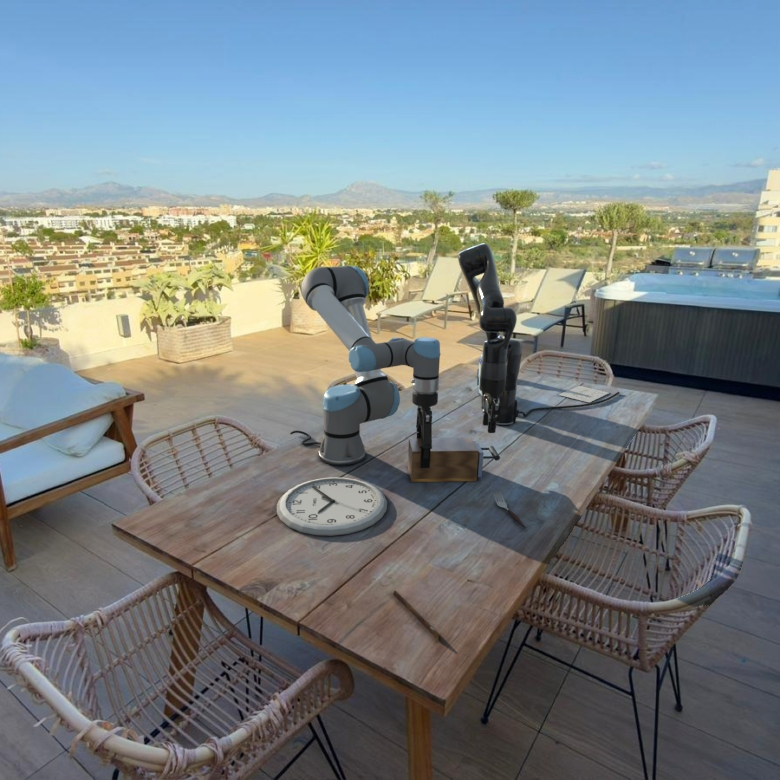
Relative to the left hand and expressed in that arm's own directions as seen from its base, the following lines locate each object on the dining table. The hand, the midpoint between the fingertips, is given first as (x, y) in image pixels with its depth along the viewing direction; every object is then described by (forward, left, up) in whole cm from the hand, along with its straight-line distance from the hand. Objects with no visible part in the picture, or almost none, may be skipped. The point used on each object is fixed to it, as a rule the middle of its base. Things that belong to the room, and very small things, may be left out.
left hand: (422, 459), depth 160 cm
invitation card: (+46, +107, -5) cm, 117 cm away
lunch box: (+7, +83, -5) cm, 83 cm away
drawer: (+10, +5, -4) cm, 12 cm away
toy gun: (-3, +121, -5) cm, 121 cm away
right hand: (+18, +8, +10) cm, 22 cm away
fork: (+29, -14, -5) cm, 32 cm away
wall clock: (-17, -28, -5) cm, 33 cm away
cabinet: (+5, +2, -5) cm, 8 cm away
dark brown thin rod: (+17, -60, -5) cm, 62 cm away
